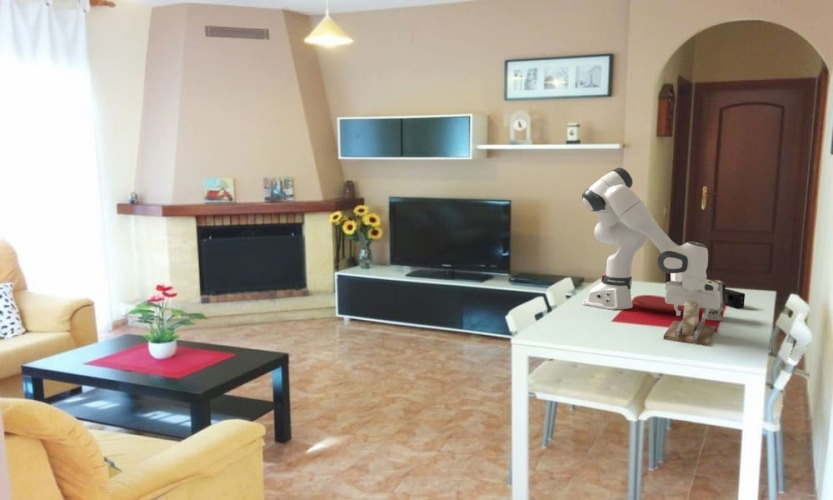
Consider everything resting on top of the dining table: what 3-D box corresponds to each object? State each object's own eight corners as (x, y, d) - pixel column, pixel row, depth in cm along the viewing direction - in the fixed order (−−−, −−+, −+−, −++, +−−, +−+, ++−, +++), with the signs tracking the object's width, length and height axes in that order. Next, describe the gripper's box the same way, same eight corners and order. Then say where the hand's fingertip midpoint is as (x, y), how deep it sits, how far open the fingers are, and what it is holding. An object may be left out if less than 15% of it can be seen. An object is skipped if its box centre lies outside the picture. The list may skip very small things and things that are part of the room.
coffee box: (723, 321, 283) (726, 284, 280) (707, 320, 284) (710, 283, 281) (718, 315, 292) (721, 279, 289) (702, 314, 293) (705, 278, 290)
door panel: (681, 334, 259) (684, 304, 256) (687, 325, 270) (689, 297, 268) (692, 336, 257) (695, 305, 255) (697, 327, 269) (700, 298, 266)
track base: (663, 339, 257) (664, 329, 257) (673, 324, 278) (674, 314, 277) (708, 345, 250) (708, 335, 249) (715, 329, 270) (716, 320, 269)
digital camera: (716, 304, 312) (718, 289, 311) (725, 302, 314) (726, 288, 313) (735, 309, 302) (736, 294, 301) (743, 308, 304) (745, 293, 303)
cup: (691, 291, 337) (693, 265, 335) (671, 290, 337) (673, 265, 335) (683, 286, 347) (685, 262, 345) (664, 286, 347) (666, 261, 345)
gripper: (664, 281, 263) (662, 315, 265) (720, 287, 253) (717, 322, 255) (667, 278, 268) (664, 311, 270) (722, 284, 258) (719, 318, 260)
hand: (691, 317), depth 263 cm, fingers open, 8 cm apart
